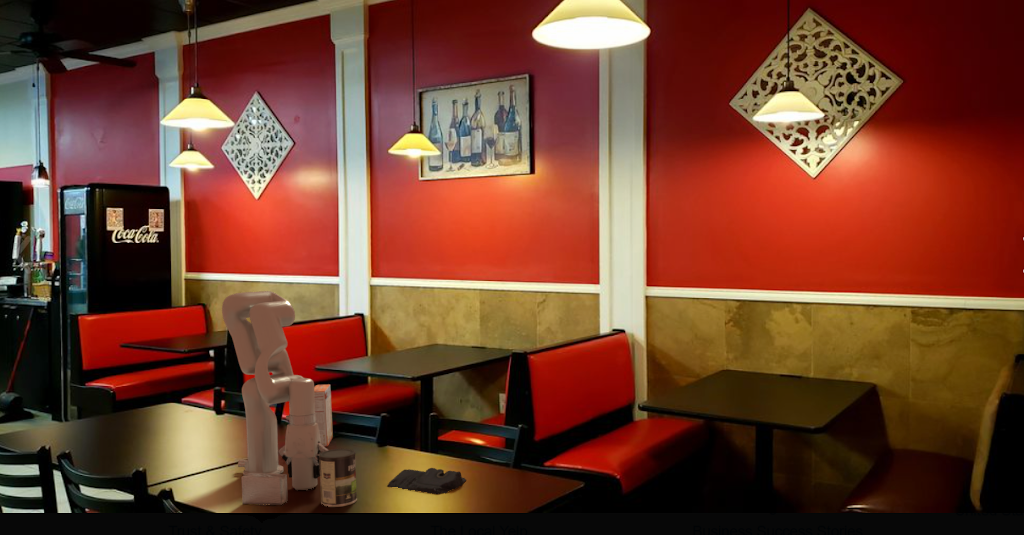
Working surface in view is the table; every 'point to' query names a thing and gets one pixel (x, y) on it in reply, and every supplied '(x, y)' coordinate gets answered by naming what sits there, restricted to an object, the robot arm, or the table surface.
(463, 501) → the table surface
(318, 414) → the cracker box
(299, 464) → the can
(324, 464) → the coffee can
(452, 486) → the dark slate chunk
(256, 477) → the pinkish brown box
